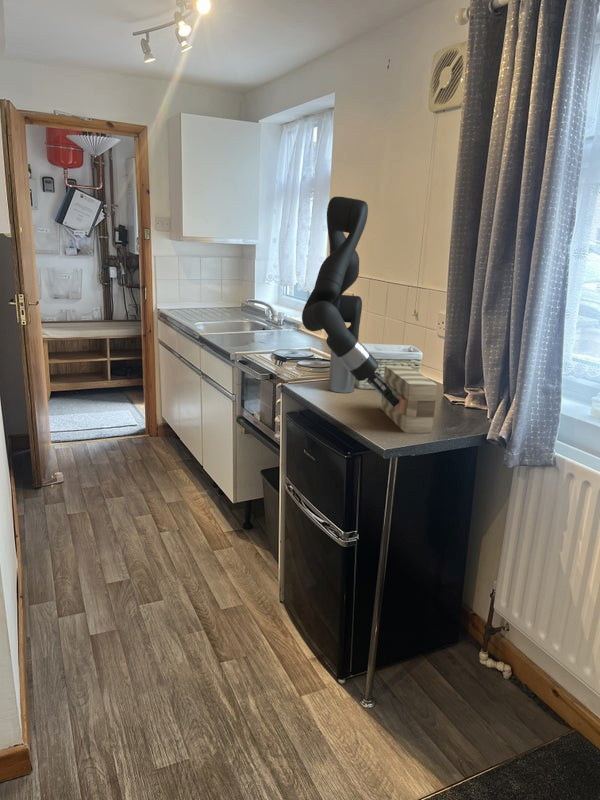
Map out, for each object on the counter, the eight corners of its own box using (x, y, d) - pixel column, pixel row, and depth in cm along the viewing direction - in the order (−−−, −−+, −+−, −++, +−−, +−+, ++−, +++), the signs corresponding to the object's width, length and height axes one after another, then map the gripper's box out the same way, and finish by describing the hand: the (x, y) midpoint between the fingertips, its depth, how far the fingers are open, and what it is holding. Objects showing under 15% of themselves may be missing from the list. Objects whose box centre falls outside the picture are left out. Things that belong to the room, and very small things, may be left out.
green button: (388, 401, 177) (389, 389, 175) (398, 402, 177) (399, 389, 176) (391, 405, 173) (393, 392, 172) (402, 405, 173) (403, 392, 172)
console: (380, 408, 188) (385, 365, 184) (404, 408, 189) (409, 366, 185) (404, 432, 165) (409, 384, 161) (431, 432, 166) (437, 384, 162)
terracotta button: (395, 409, 169) (396, 396, 168) (405, 409, 169) (407, 396, 168) (399, 413, 165) (400, 399, 164) (410, 413, 166) (411, 399, 164)
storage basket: (354, 390, 210) (357, 349, 206) (348, 379, 225) (351, 341, 222) (420, 393, 211) (424, 352, 207) (410, 382, 227) (414, 344, 223)
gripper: (374, 355, 155) (413, 401, 160) (362, 346, 167) (399, 389, 172) (353, 374, 155) (393, 419, 160) (342, 364, 168) (379, 406, 173)
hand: (396, 403), depth 166 cm, fingers closed
